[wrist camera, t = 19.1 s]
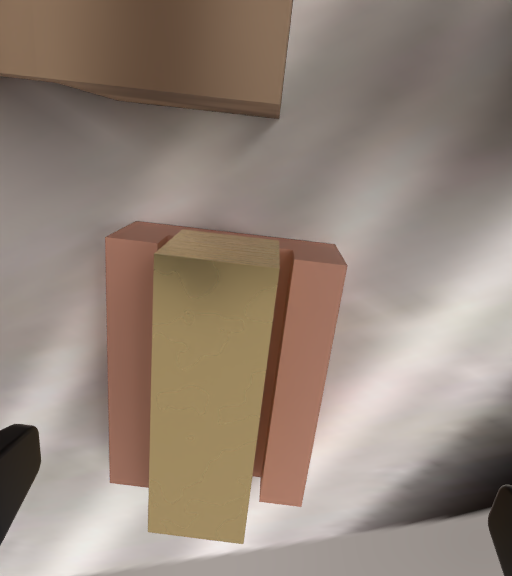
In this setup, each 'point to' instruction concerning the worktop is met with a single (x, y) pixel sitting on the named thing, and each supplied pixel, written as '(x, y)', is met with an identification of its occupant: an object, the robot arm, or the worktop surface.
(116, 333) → the rust cradle
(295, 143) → the worktop surface
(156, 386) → the brass block
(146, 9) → the walnut beam
